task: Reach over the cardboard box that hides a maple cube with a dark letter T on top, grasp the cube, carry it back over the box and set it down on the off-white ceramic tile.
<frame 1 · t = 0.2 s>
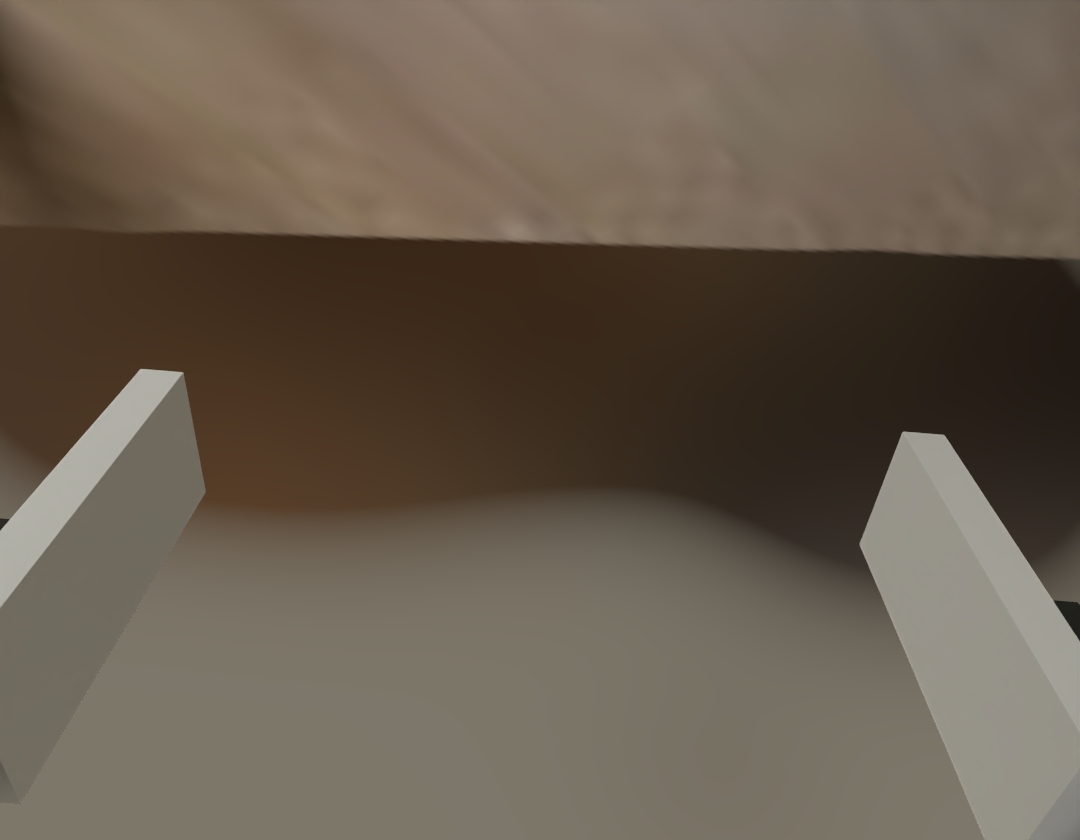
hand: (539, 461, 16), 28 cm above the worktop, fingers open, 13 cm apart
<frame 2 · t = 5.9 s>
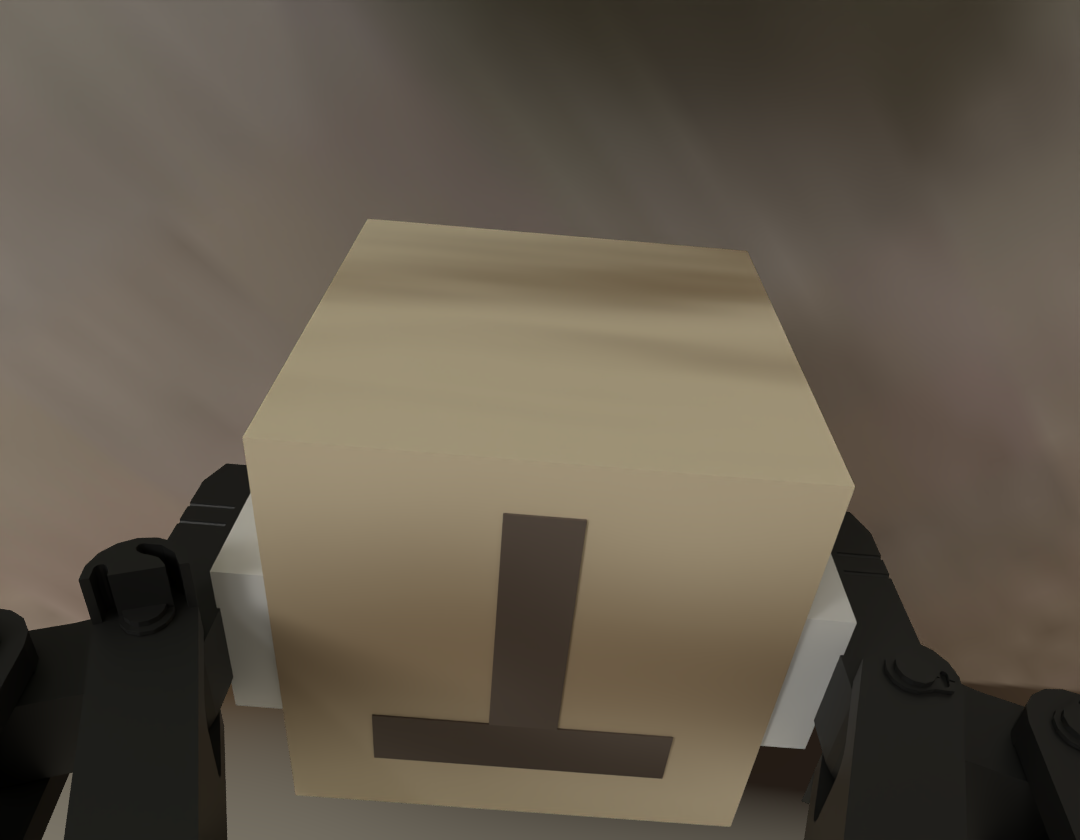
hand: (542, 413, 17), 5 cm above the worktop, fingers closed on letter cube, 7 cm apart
letter cube: (543, 395, 17), point 5 cm above the worktop, touching gripper
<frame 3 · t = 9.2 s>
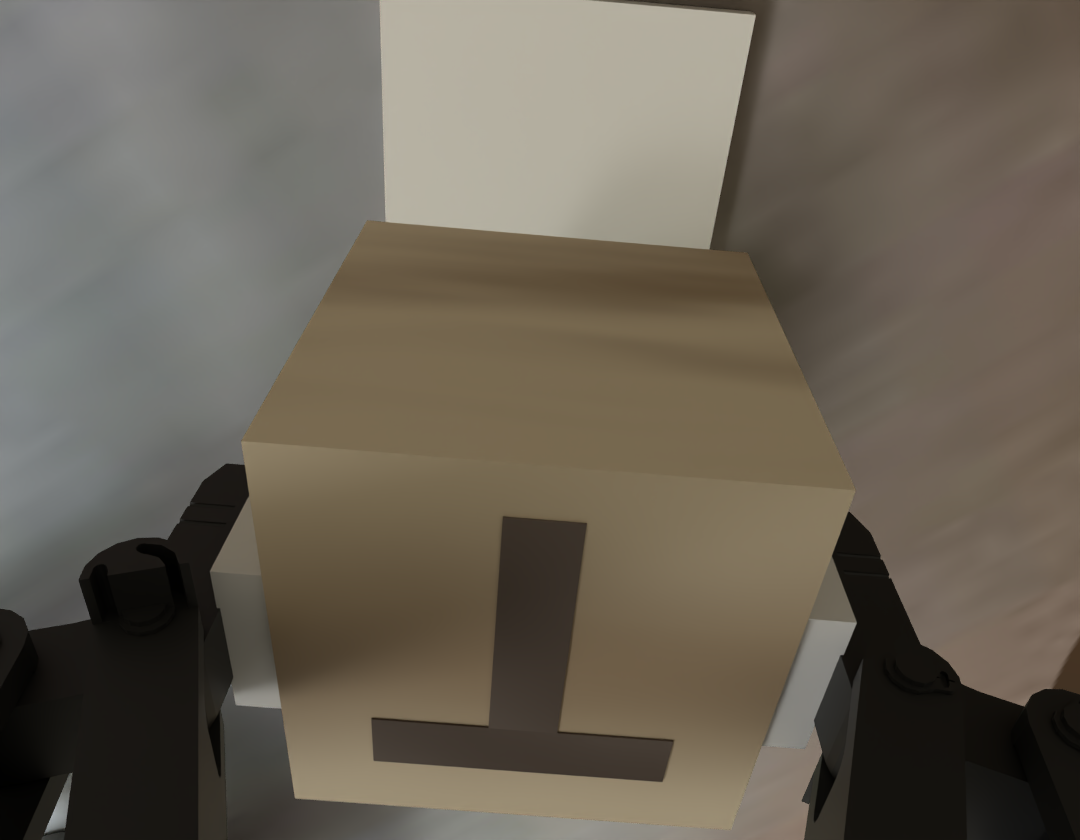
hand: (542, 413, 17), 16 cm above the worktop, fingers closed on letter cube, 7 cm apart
tile: (552, 178, 30), on the worktop
letter cube: (543, 397, 17), point 16 cm above the worktop, touching gripper
when the fingers open (2 cm above the worktop, at t = 12.4 s): letter cube stays where it is, resting on tile.
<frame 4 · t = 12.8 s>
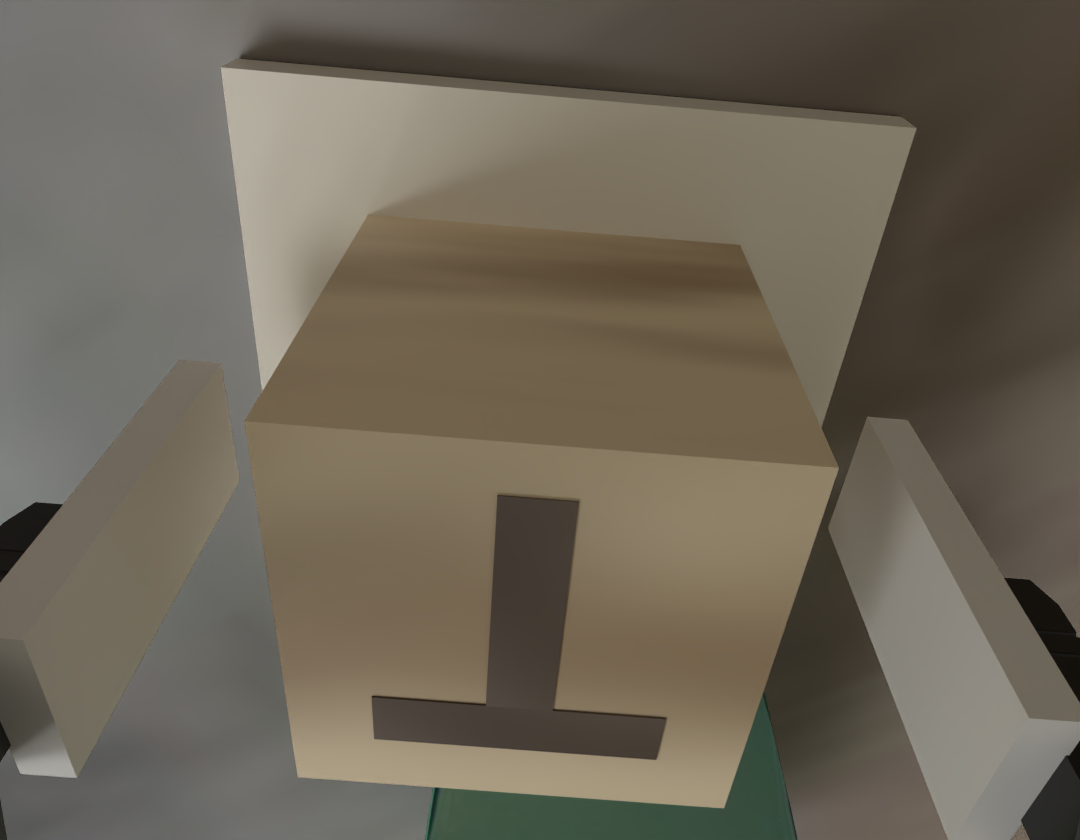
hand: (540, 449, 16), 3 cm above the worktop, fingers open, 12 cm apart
tile: (544, 374, 18), on the worktop
box: (573, 729, 25), on the worktop, touching tile
letter cube: (540, 388, 18), point 1 cm above the worktop, touching tile
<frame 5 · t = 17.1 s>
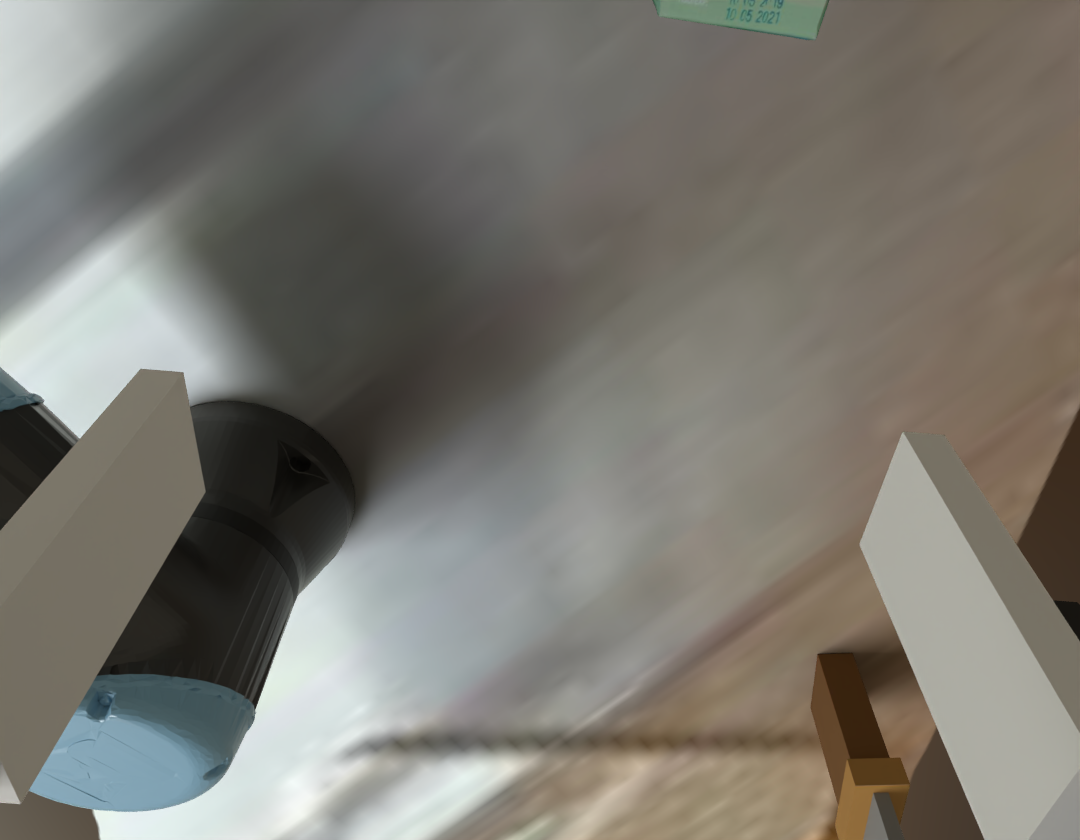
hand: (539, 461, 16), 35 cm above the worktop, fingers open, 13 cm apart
knife: (830, 679, 70), on the worktop
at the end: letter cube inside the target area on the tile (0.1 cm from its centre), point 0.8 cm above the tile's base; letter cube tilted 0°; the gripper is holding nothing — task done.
